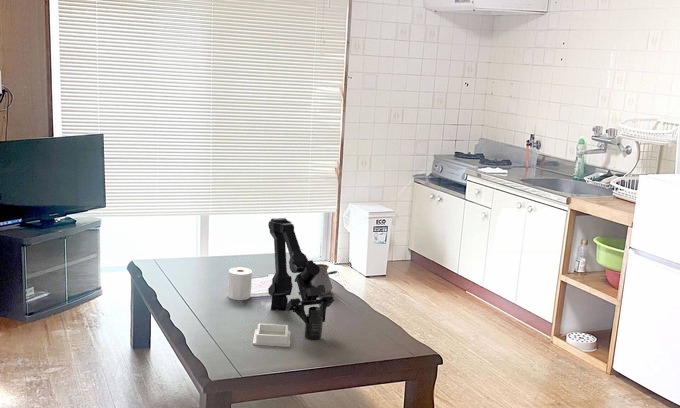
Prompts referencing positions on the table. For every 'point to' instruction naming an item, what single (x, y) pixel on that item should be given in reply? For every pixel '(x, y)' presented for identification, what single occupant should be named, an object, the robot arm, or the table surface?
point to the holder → (272, 335)
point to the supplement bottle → (314, 324)
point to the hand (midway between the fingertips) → (315, 322)
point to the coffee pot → (323, 278)
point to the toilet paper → (239, 283)
